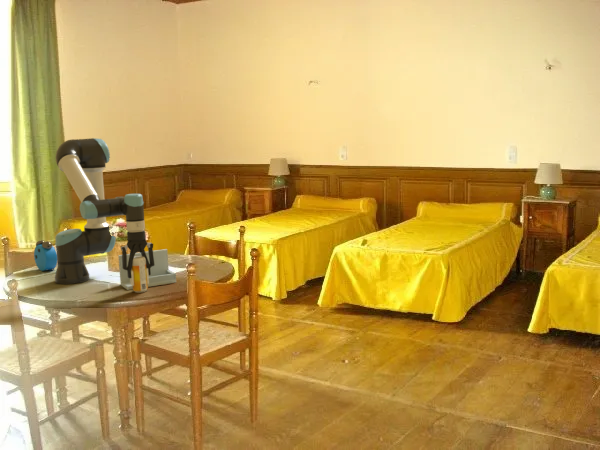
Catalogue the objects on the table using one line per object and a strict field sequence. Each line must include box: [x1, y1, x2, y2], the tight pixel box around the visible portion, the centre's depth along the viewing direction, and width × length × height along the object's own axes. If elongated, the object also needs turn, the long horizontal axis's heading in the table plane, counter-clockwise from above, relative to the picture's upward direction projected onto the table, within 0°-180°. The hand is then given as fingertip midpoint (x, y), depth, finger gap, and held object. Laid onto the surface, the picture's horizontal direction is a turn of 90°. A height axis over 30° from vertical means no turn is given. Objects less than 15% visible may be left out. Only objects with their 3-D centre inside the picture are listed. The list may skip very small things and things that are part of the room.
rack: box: [118, 248, 177, 291], centre depth 295 cm, size 22×11×14 cm, turn 120°
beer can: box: [132, 256, 149, 294], centre depth 282 cm, size 6×6×15 cm
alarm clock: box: [33, 239, 58, 272], centre depth 331 cm, size 13×6×15 cm, turn 47°
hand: (139, 284), depth 283 cm, fingers closed on beer can, 6 cm apart
